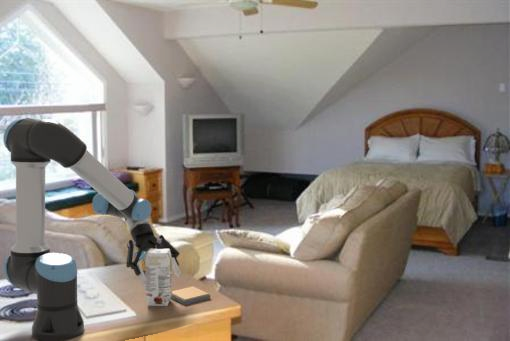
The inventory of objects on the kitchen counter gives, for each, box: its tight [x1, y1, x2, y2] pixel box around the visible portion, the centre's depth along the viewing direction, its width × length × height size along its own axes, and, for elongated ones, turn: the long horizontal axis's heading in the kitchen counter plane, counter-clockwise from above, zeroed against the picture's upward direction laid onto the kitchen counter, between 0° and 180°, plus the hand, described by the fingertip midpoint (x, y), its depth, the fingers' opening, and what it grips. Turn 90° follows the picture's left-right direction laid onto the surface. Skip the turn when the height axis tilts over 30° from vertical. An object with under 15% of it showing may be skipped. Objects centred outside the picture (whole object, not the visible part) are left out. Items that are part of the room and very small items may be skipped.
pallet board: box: [170, 286, 211, 306], centre depth 214 cm, size 11×11×2 cm
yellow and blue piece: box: [133, 250, 148, 272], centre depth 246 cm, size 12×10×15 cm
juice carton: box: [144, 248, 173, 307], centre depth 206 cm, size 8×9×19 cm
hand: (162, 278), depth 205 cm, fingers open, 13 cm apart
